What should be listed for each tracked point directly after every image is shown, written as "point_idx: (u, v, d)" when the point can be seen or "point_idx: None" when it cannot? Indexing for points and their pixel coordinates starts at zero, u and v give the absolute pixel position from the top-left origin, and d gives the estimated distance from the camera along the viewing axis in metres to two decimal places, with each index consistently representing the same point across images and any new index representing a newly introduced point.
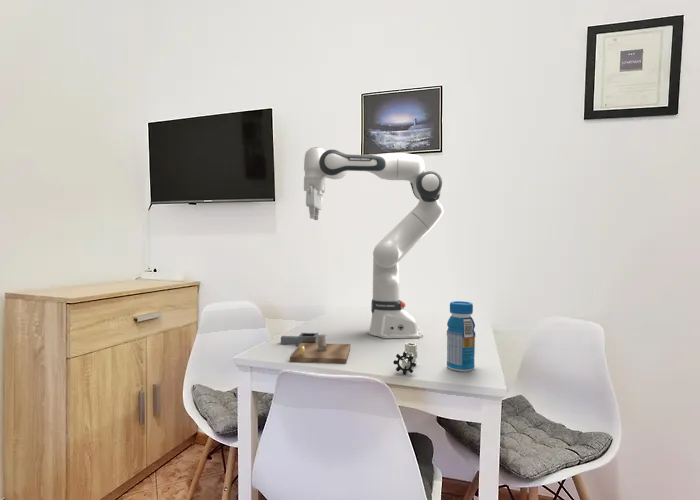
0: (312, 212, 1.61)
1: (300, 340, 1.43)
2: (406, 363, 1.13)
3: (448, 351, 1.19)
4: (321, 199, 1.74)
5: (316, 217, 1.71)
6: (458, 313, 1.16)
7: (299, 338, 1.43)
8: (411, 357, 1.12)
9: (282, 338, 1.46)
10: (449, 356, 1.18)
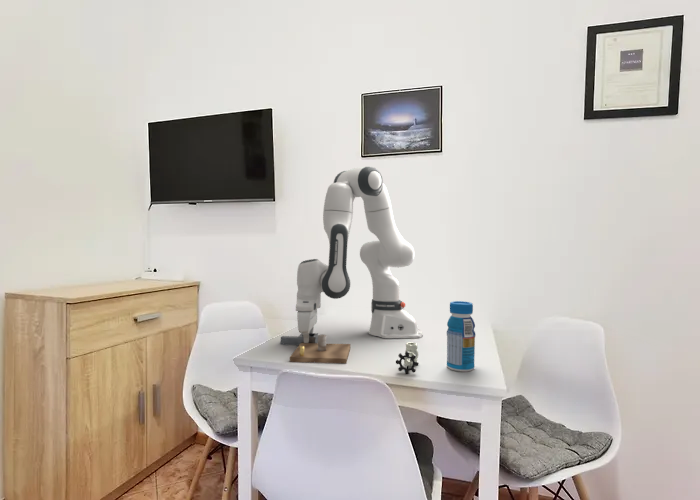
0: None
1: (300, 340, 1.43)
2: (408, 363, 1.14)
3: (448, 351, 1.19)
4: None
5: None
6: (458, 313, 1.16)
7: (299, 338, 1.43)
8: (413, 357, 1.13)
9: (282, 338, 1.46)
10: (449, 356, 1.18)
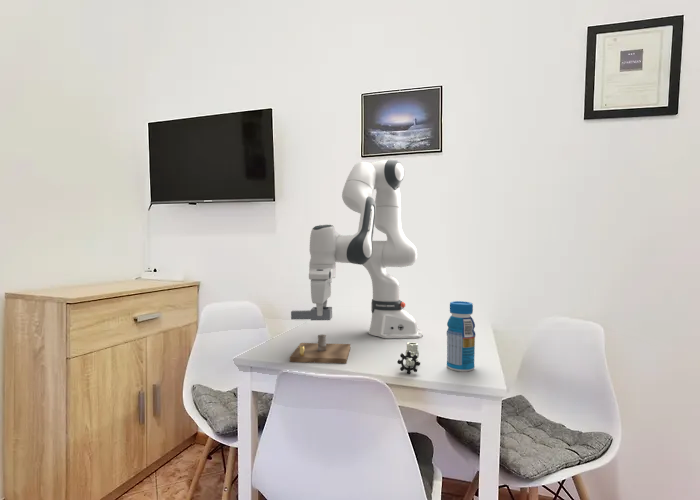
0: None
1: (312, 313, 1.29)
2: (410, 362, 1.14)
3: (448, 351, 1.19)
4: None
5: None
6: (458, 313, 1.16)
7: (311, 311, 1.29)
8: (415, 356, 1.13)
9: (292, 312, 1.32)
10: (449, 356, 1.18)
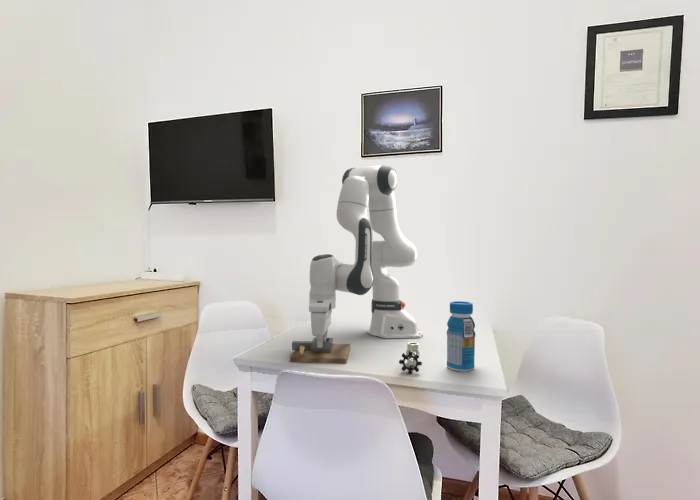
0: None
1: (313, 345, 1.30)
2: (412, 362, 1.14)
3: (448, 351, 1.19)
4: None
5: None
6: (458, 313, 1.16)
7: (312, 343, 1.30)
8: (417, 356, 1.13)
9: (293, 343, 1.32)
10: (449, 356, 1.18)
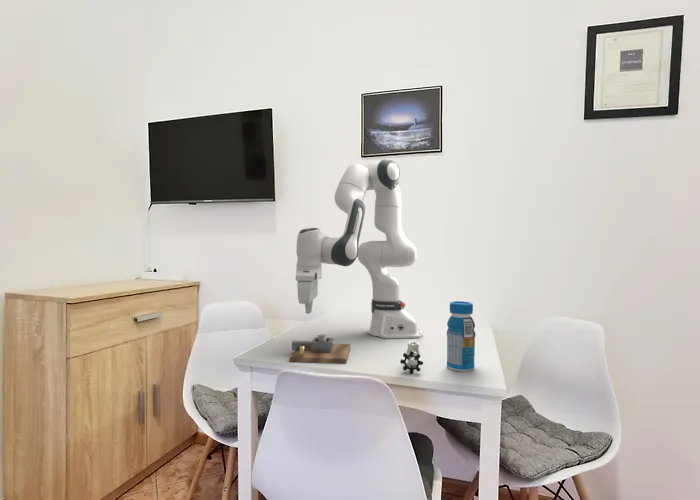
0: None
1: (313, 345, 1.30)
2: (413, 362, 1.14)
3: (448, 351, 1.19)
4: None
5: None
6: (458, 313, 1.16)
7: (312, 343, 1.30)
8: (418, 356, 1.14)
9: (293, 343, 1.32)
10: (449, 356, 1.18)
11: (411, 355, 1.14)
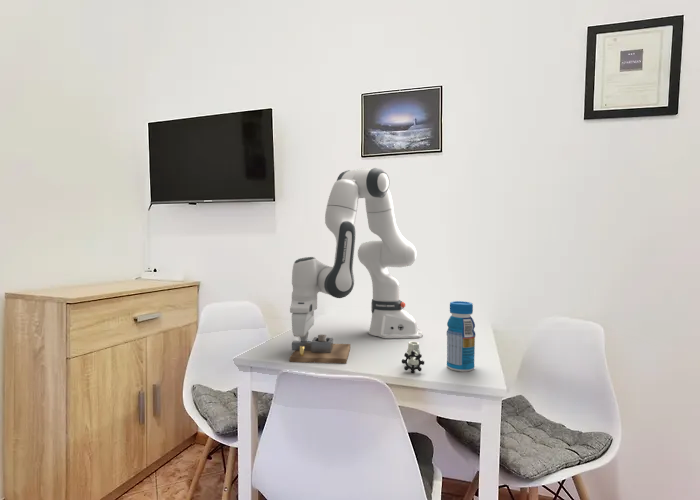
0: None
1: (313, 345, 1.30)
2: (414, 362, 1.14)
3: (448, 351, 1.19)
4: None
5: None
6: (458, 313, 1.16)
7: (312, 343, 1.30)
8: (419, 356, 1.14)
9: (293, 343, 1.32)
10: (449, 356, 1.18)
11: (412, 355, 1.14)
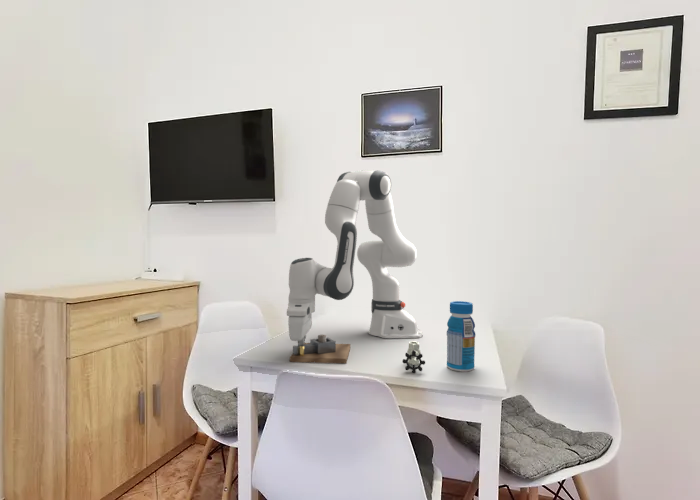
0: None
1: (320, 347, 1.28)
2: (415, 362, 1.15)
3: (448, 351, 1.19)
4: None
5: None
6: (458, 313, 1.16)
7: (319, 345, 1.28)
8: (420, 355, 1.14)
9: (297, 348, 1.26)
10: (449, 356, 1.18)
11: (413, 355, 1.15)
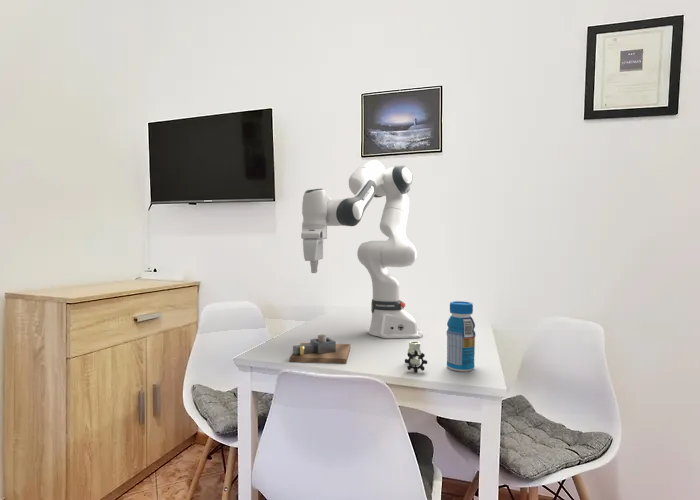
0: None
1: (320, 347, 1.28)
2: (417, 361, 1.15)
3: (448, 351, 1.19)
4: None
5: None
6: (458, 313, 1.16)
7: (319, 345, 1.28)
8: (423, 355, 1.15)
9: (297, 348, 1.26)
10: (449, 356, 1.18)
11: (415, 354, 1.15)
